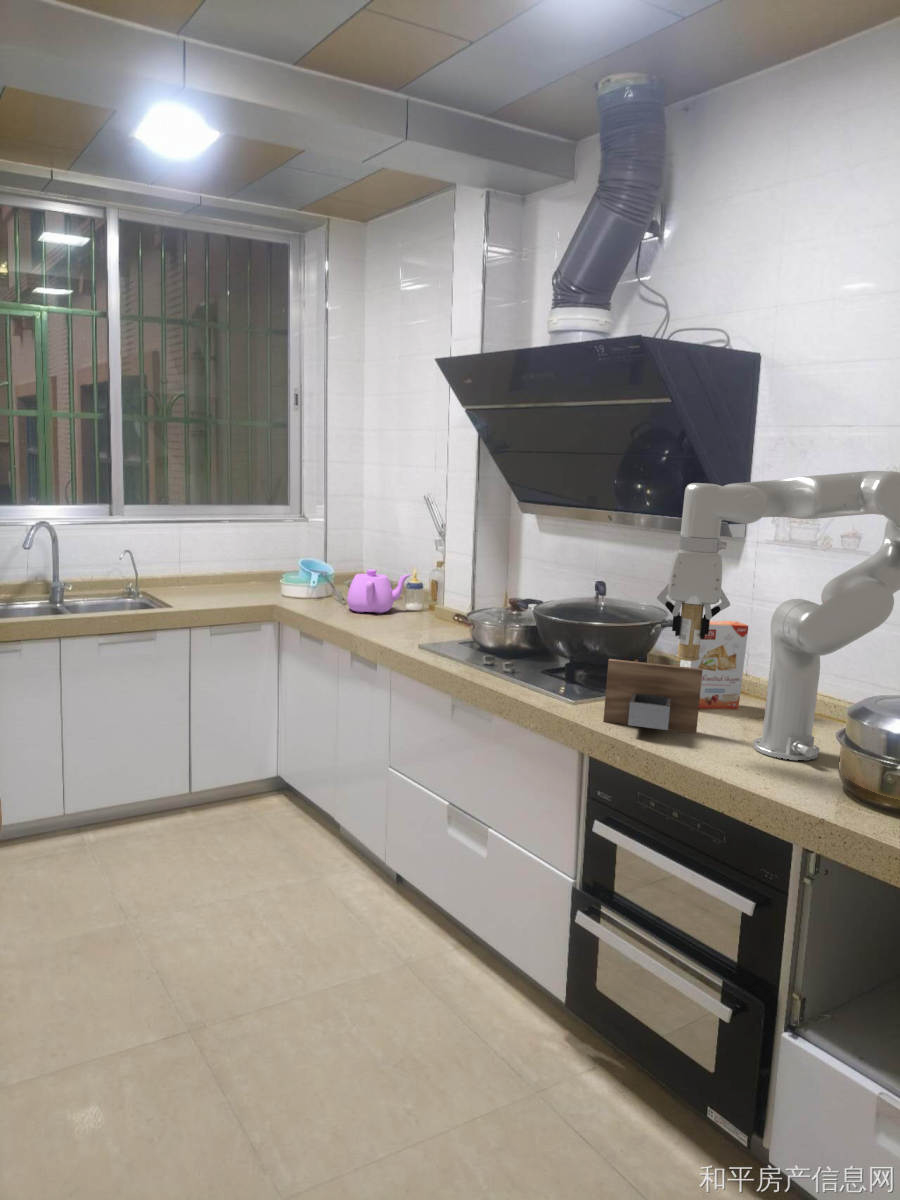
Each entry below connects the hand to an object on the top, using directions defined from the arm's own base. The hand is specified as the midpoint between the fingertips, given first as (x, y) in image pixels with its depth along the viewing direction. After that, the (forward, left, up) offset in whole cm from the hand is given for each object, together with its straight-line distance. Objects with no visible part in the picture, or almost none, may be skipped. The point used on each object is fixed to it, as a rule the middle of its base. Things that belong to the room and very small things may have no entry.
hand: (689, 635), depth 183 cm
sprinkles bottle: (0, 0, -5) cm, 5 cm away
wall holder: (+10, +2, -23) cm, 26 cm away
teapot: (+159, +36, -24) cm, 165 cm away
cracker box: (+29, -24, -24) cm, 44 cm away
